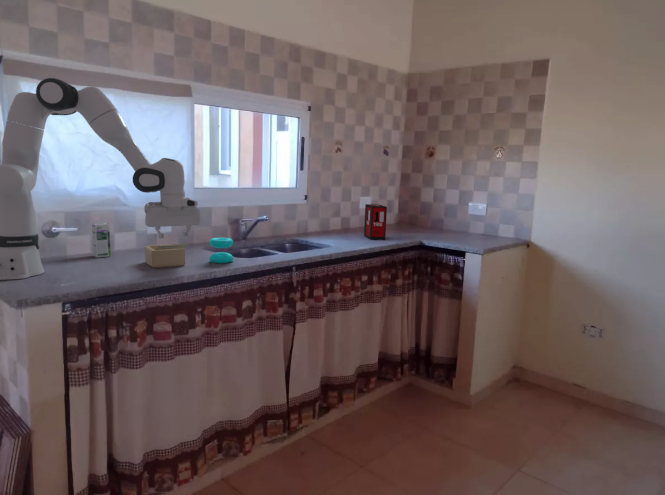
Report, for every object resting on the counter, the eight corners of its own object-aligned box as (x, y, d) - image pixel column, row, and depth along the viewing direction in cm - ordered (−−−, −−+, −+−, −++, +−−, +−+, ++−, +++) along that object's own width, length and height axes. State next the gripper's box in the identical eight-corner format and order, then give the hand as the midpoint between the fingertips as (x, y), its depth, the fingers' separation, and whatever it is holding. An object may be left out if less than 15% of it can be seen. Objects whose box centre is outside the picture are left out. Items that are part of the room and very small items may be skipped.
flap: (154, 250, 185) (159, 246, 178) (154, 249, 185) (159, 245, 178) (184, 248, 191) (189, 244, 185) (183, 247, 191) (189, 243, 185)
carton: (152, 268, 186) (152, 250, 185) (144, 262, 197) (143, 245, 196) (185, 265, 193) (185, 248, 192) (176, 259, 204) (175, 243, 203)
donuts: (234, 240, 199) (210, 240, 196) (234, 263, 201) (210, 264, 198) (231, 236, 209) (208, 237, 205) (231, 259, 210) (208, 259, 207)
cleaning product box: (385, 240, 283) (386, 206, 280) (370, 240, 282) (372, 206, 278) (377, 236, 299) (379, 204, 296) (363, 236, 298) (365, 204, 294)
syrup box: (96, 257, 202) (95, 224, 200) (93, 255, 207) (91, 222, 204) (111, 256, 206) (109, 223, 204) (107, 254, 210) (105, 222, 208)
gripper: (146, 202, 172) (147, 240, 174) (201, 201, 183) (202, 237, 185) (142, 201, 177) (143, 238, 179) (196, 200, 188) (196, 235, 191)
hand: (173, 237), depth 182 cm, fingers open, 8 cm apart
